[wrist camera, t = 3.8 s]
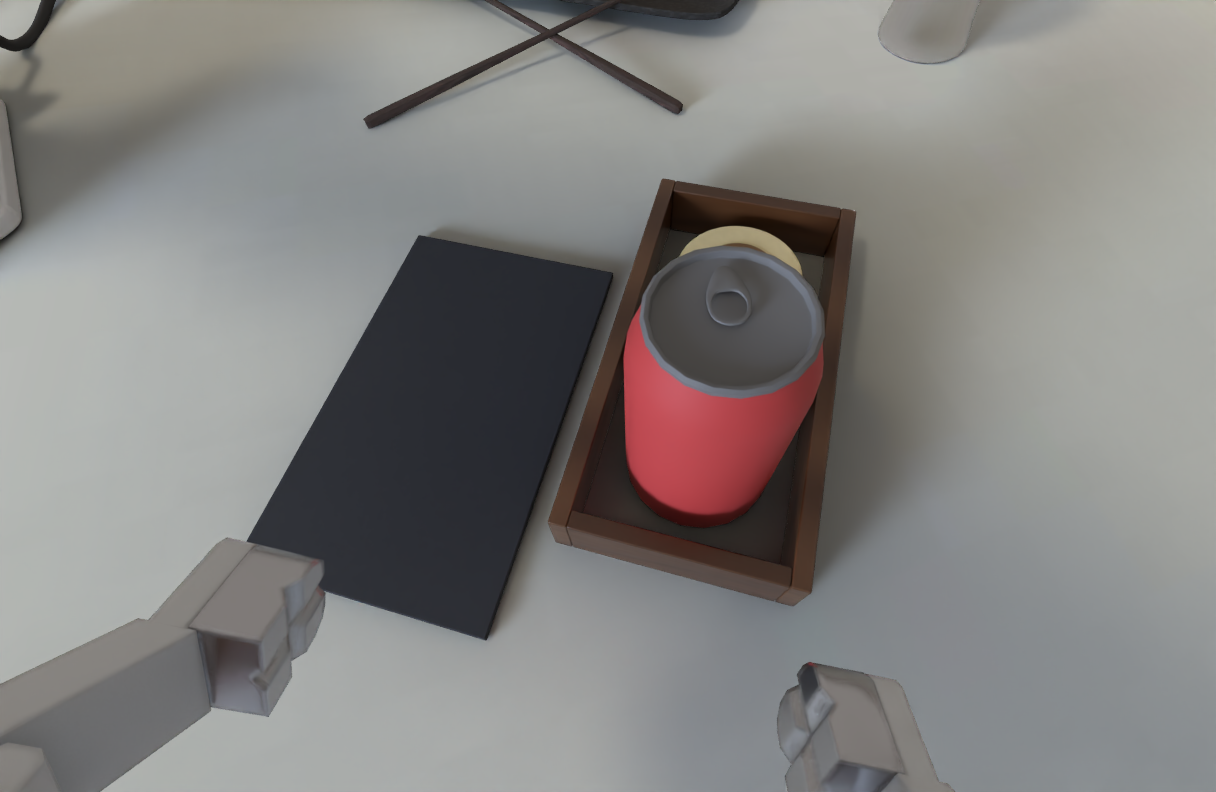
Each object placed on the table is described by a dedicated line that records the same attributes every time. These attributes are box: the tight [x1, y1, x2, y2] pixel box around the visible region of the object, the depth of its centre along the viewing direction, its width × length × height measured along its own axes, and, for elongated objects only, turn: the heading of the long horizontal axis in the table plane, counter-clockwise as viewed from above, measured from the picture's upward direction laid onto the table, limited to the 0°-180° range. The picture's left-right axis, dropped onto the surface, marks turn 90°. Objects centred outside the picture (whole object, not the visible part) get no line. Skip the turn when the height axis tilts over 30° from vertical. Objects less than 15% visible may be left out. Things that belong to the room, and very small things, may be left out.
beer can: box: [624, 246, 825, 528], centre depth 23 cm, size 7×7×12 cm
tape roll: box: [680, 226, 802, 275], centre depth 32 cm, size 6×6×3 cm
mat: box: [247, 235, 613, 640], centre depth 31 cm, size 20×12×1 cm, turn 164°
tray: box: [548, 179, 856, 606], centre depth 30 cm, size 20×11×3 cm, turn 164°
